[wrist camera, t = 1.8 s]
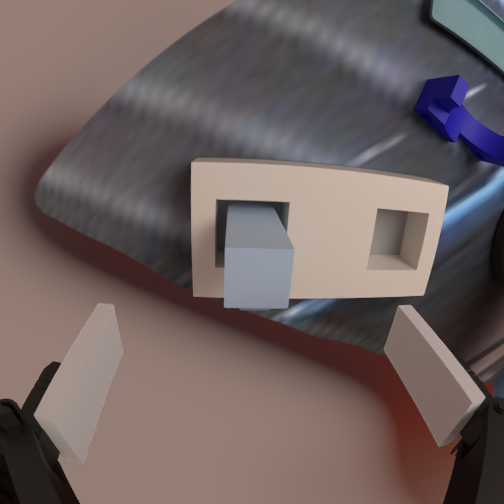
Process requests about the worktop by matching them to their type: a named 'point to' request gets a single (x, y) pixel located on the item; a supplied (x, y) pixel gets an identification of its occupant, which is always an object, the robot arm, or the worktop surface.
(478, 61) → the worktop surface
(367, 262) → the socket strip
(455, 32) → the rectangular tray
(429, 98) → the blue angular bent piece
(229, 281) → the plug
